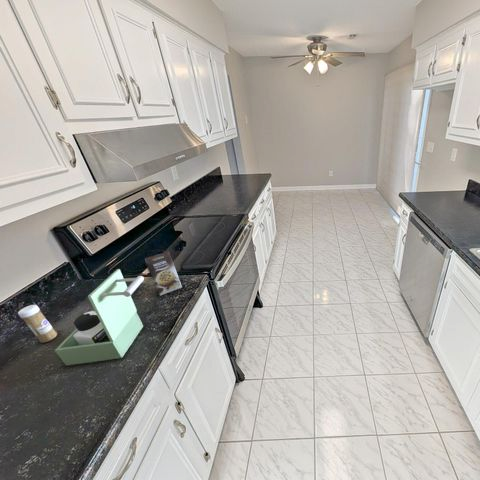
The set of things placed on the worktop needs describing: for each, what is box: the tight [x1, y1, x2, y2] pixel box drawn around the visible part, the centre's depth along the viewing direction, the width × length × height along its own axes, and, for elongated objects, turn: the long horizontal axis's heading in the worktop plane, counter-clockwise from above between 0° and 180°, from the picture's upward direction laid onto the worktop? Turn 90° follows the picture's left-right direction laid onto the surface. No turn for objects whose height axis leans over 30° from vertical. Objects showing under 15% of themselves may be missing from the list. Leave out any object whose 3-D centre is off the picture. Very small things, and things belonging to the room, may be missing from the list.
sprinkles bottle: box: [17, 304, 58, 343], centre depth 87 cm, size 5×5×14 cm
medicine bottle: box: [73, 310, 110, 345], centre depth 82 cm, size 7×7×12 cm
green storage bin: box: [54, 312, 144, 366], centre depth 84 cm, size 17×14×7 cm
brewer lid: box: [87, 268, 145, 342], centre depth 79 cm, size 17×14×9 cm
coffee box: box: [144, 251, 183, 296], centre depth 108 cm, size 9×6×16 cm
